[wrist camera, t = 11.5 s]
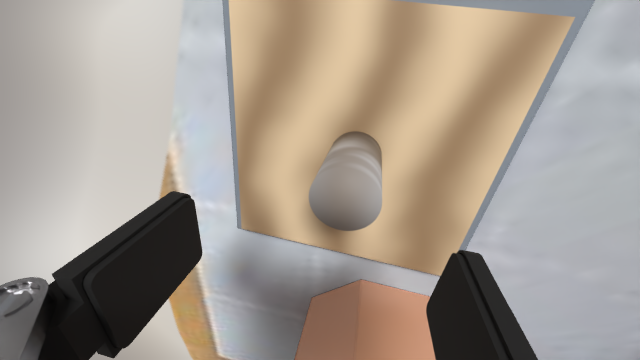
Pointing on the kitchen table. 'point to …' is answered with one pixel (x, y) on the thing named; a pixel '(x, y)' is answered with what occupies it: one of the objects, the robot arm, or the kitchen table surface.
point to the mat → (563, 3)
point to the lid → (379, 118)
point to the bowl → (366, 325)
